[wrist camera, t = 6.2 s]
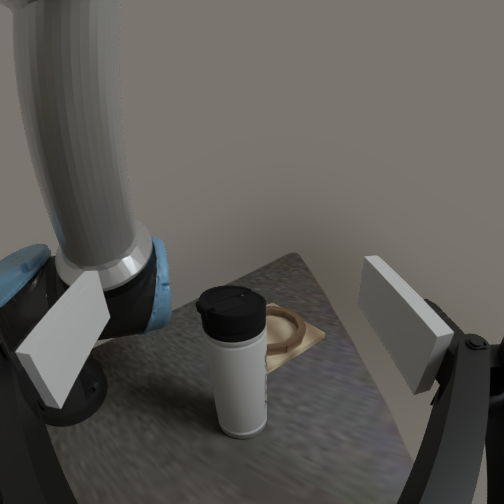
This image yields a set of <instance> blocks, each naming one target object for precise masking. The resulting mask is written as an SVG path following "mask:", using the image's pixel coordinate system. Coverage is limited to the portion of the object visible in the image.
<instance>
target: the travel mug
mask: <svg viewBox="0 0 504 504" xmlns="http://www.w3.org/2000/svg"><path fill="white" fill-rule="evenodd" d="M196 308H197V311H198V312H199V313H200V314H201V319H202V329H203V336H204V342H205V348H206V355H207V361H208V366H209V372H210V378H211V383H212V389H213V394H214V400H215V405H216V410H217V415H218V420H219V425H220V427H221V429H222V430H223V432H224V433H226V434H227V435H229V436H230V437H233V438H237V439H247V438H251V437H254V436H256V435H258V434H259V433H261V432H262V431H263V429H264V428H265V426H266V423H267V321H266V300H265V299H264V297H263V296H261V295H259V294H258V293H256V292H253V291H251V289H249V288H246V287H242V286H219V287H214V288H211V289H208V290H206V291H205V292H203V293H202V294H201V295H200V298H199V301H197V302H196Z"/></svg>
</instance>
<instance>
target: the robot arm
mask: <svg viewBox="0 0 504 504" xmlns="http://www.w3.org/2000/svg"><path fill="white" fill-rule="evenodd" d="M0 3H1V4H3V5H4V6H6V7H8V8H9V9H10V10H11V11H12V13H13V43H14V44H13V46H14V61H15V72H16V80H17V88H18V96H19V103H20V109H21V114H22V120H23V125H24V130H25V135H26V139H27V143H28V147H29V152H30V156H31V159H32V163H33V167H34V171H35V174H36V178H37V181H38V185H39V187H40V191H41V194H42V197H43V200H44V203H45V206H46V209H47V212H48V215H49V217H50V221H51V223H52V226H53V229H54V231H55V234H56V236H57V239H58V241H59V244H60V245H59V247H58V249H57V252H56V256H51V251H50V249H49V248H48V246H47V245H45V244H35V245H31V246H28V247H25V248H23V249H20V250H18V251H16V252H14V253H12V254H10V255H9V256H7V257H5V258H4V259H2V260H1V261H0V504H3V500H4V504H78V503H77V501H76V499H75V497H74V495H73V493H72V491H71V489H70V487H69V484H68V482H67V480H66V478H65V476H64V473H63V471H62V469H61V466H60V464H59V461H58V459H57V456H56V454H55V451H54V448H53V445H52V443H51V440H50V437H49V434H48V431H47V428H46V425H45V423H46V424H49V425H53V426H69V425H73V424H76V423H79V422H81V421H83V420H85V419H87V418H88V417H90V416H91V415H92V414H93V413H95V412H96V411H97V409H98V408H99V407H100V406H101V404H102V403H103V401H104V399H105V397H106V394H107V387H108V386H107V379H106V376H105V374H104V372H103V370H102V368H101V366H100V364H99V363H98V362H97V361H96V360H95V358H94V357H93V356H92V355H91V354H90V352H91V350H92V348H93V347H94V345H95V343H96V341H97V340H103V339H109V338H116V337H123V336H130V335H136V334H139V335H142V334H146V333H147V332H149V331H154V330H158V329H161V328H163V327H165V326H166V325H167V324H168V322H169V320H170V316H171V291H170V287H169V284H170V282H169V268H168V261H167V255H166V250H165V246H164V243H163V241H162V240H161V239H159V238H154V237H151V235H150V233H149V231H148V229H147V228H146V227H145V226H144V224H142V223H141V222H140V221H138V220H136V219H134V213H133V207H132V201H131V194H130V187H129V180H128V173H127V165H126V157H125V148H124V138H123V125H122V113H121V97H120V70H119V68H120V67H119V34H120V7H121V0H0ZM358 306H359V308H360V309H361V311H362V312H363V314H364V315H365V317H366V318H367V320H368V321H369V323H370V325H371V326H372V328H373V329H374V331H375V332H376V334H377V335H378V337H379V338H380V340H381V342H382V343H383V345H384V346H385V348H386V350H387V351H388V353H389V354H390V355H391V358H392V359H393V361H394V362H395V364H396V366H397V368H398V369H399V371H400V372H401V374H402V376H403V377H404V379H405V381H406V382H407V384H408V385H409V387H410V389H411V391H412V393H413V394H414V395H416V394H419V393H422V392H426V391H429V390H430V389H431V387H432V385H433V383H434V380H435V379H436V380H437V381H438V383H439V384H440V386H439V388H438V390H437V392H436V394H435V396H434V398H433V400H432V402H431V404H430V405H433V408H432V411H431V415H430V418H429V422H428V425H427V428H426V431H425V434H424V437H423V440H422V443H421V446H420V449H419V452H418V455H417V457H416V460H415V463H414V465H413V468H412V470H411V473H410V475H409V478H408V480H407V482H406V485H405V487H404V489H403V491H402V494H401V496H400V498H399V500H398V502H397V504H471V503H472V499H473V495H474V492H475V488H476V484H477V480H478V475H479V471H480V465H481V461H482V455H483V449H484V443H485V447H486V458H487V459H486V460H487V504H504V337H503V339H502V342H501V344H498V345H489V344H488V342H487V341H486V340H485V339H484V338H482V337H481V336H478V335H476V334H464V333H463V332H462V330H460V329H459V327H458V326H457V325H456V324H455V323H454V322H453V321H452V320H451V319H450V318H448V316H447V315H446V314H445V313H444V312H443V311H442V310H441V309H440V308H439V307H438V306H437V305H436V304H435V303H433V302H431V301H429V300H428V299H422V298H421V297H420V296H419V295H418V294H417V293H416V292H415V291H414V290H413V289H412V288H411V287H410V286H409V285H408V284H407V283H406V282H405V281H404V280H403V279H402V278H401V277H400V276H399V275H398V274H397V273H395V271H393V270H392V269H391V268H390V267H389V266H388V265H387V264H386V263H385V262H384V261H383V260H382V259H381V258H380V257H379V256H364V261H363V270H362V278H361V285H360V292H359V299H358ZM433 403H434V404H433Z"/></svg>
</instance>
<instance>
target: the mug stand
mask: <svg viewBox="0 0 504 504" xmlns="http://www.w3.org/2000/svg"><path fill="white" fill-rule="evenodd" d="M266 321H267V374H268V373H270V372H271V371H273V370H275V369H276V368H278V367H280V366H281V365H283V364H285V363H286V362H288V361H289V360H291V359H293V358H294V357H296V356H297V355H299V354H300V353H302V352H304V351H305V350H307V349H308V348H310V347H311V346H313V345H314V344H316V343H317V342H319V341H320V340H322V339H323V338H325V333H324V332H322V331H321V330H319V329H317V328H315V327H314V326H312V325H310V324H308V323H307V322H305V321H303V319H302V317H301V315H299V314H297V313H295V312H294V311H292V310H290V309H288V308H283V307H279V306H278V305H276V304H274V303H271V304H268V305H266Z"/></svg>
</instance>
